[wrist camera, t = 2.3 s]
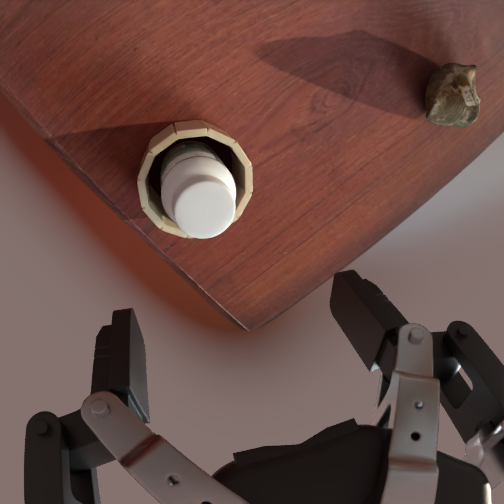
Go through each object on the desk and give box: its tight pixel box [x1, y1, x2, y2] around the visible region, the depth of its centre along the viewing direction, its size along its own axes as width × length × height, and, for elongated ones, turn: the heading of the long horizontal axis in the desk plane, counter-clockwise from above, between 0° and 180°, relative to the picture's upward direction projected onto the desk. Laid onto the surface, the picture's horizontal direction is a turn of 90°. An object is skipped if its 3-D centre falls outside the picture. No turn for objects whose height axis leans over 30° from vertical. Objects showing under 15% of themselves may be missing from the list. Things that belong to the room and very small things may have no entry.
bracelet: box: [137, 120, 253, 238], centre depth 26 cm, size 9×9×5 cm
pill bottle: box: [161, 141, 236, 238], centre depth 24 cm, size 5×5×10 cm
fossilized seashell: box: [425, 63, 480, 128], centre depth 28 cm, size 8×7×10 cm
